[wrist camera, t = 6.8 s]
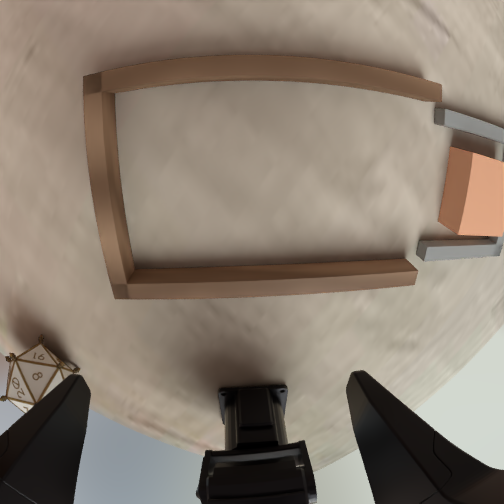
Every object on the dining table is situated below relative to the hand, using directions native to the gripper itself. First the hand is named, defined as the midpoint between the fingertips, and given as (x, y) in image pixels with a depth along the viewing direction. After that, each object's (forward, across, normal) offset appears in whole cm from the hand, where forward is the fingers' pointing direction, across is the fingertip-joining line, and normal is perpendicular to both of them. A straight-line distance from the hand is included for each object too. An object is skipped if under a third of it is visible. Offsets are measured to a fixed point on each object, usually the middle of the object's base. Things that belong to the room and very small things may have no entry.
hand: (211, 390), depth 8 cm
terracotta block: (+12, -20, -4) cm, 23 cm away
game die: (+12, +18, +12) cm, 25 cm away
